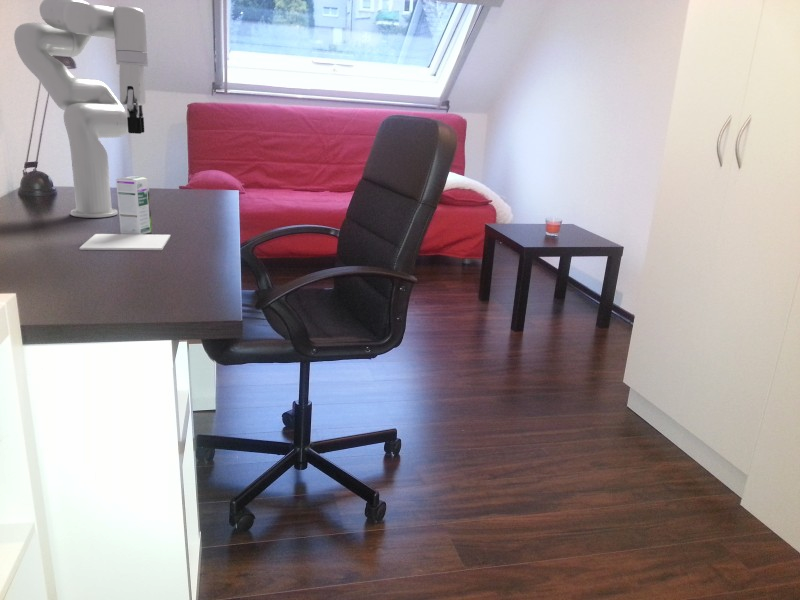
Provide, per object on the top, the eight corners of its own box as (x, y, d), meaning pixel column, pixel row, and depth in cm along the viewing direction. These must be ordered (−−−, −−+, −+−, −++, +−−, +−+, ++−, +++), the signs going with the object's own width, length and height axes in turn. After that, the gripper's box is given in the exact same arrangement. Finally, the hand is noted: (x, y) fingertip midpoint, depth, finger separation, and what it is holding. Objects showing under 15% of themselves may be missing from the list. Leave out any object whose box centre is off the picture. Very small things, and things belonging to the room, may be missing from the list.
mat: (95, 235, 164) (95, 233, 164) (170, 236, 168) (170, 234, 167) (79, 249, 149) (79, 247, 149) (161, 250, 153) (161, 248, 152)
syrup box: (140, 236, 166) (136, 179, 162) (119, 234, 167) (115, 177, 163) (152, 232, 171) (149, 177, 167) (132, 230, 173) (128, 175, 168)
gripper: (122, 60, 173) (127, 130, 178) (109, 56, 157) (114, 134, 162) (152, 62, 174) (156, 131, 179) (142, 58, 159) (146, 135, 164)
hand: (136, 132), depth 171 cm, fingers open, 3 cm apart
